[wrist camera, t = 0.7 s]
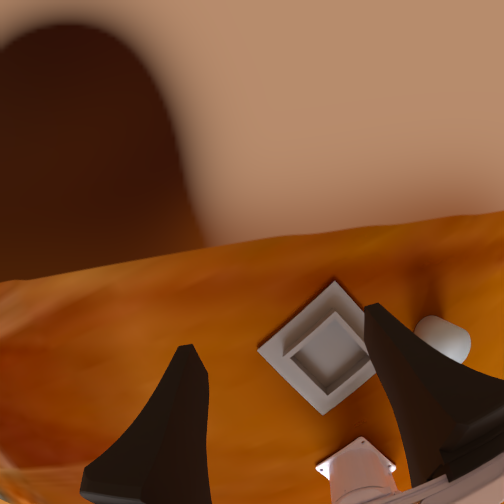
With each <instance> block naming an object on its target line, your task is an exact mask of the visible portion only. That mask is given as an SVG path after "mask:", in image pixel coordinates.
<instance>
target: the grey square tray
mask: <svg viewBox="0 0 504 504" xmlns="http://www.w3.org/2000/svg"><path fill="white" fill-rule="evenodd" d="M257 351H258V352H259V353H260V354H261V355H262V356H263V357H264V358H265V359H266V360H267V361H268V363H269V364H270V365H271V366H272V367H273V368H274V369H275V370H276V371H277V372H278V373H279V374H280V375H281V376H282V377H283V378H284V379H285V380H286V381H287V382H288V383H289V384H290V385H291V386H292V387H294V388H295V389H296V390H297V391H298V392H299V393H300V394H301V395H302V396H303V397H304V398H305V399H306V400H307V401H308V402H309V403H310V404H311V405H312V406H313V407H314V408H315V409H316V410H317V411H318V412H320V413H321V414H322V415H324V414H325V413H327V412H328V411H330V410H331V409H332V408H333V407H335V406H336V405H337V404H339V403H340V402H341V401H343V400H344V399H345V398H346V397H348V396H349V395H350V394H351V393H353V392H354V391H355V390H356V389H358V388H359V387H360V386H361V385H362V384H364V383H365V382H366V381H367V380H368V379H369V378H371V377H372V376H373V375H374V374H375V373H376V371H375V369H374V366H373V364H372V362H371V360H370V357H369V354H368V351H367V348H366V345H365V342H364V312H363V311H362V310H361V309H360V308H359V307H358V306H357V305H356V304H355V302H354V301H353V300H352V299H351V298H350V297H349V296H348V295H347V294H346V292H345V291H344V290H343V289H342V288H341V287H340V286H339V285H338V284H337V282H336V281H335V280H334V281H333V282H332V283H331V284H330V285H329V286H328V287H327V288H326V289H325V290H324V291H322V292H321V293H320V294H319V295H318V296H317V297H316V298H315V299H314V300H313V301H312V302H311V303H309V304H308V305H307V306H306V307H305V308H304V309H303V310H302V311H301V312H300V313H298V314H297V315H296V316H295V317H294V318H293V319H292V320H291V321H289V322H288V323H287V324H286V325H285V326H284V327H283V328H281V329H280V330H279V331H278V332H277V333H276V334H275V335H273V336H272V337H271V338H270V339H269V340H268V341H266V342H265V343H264V344H263V345H262V346H261V347H259V348H258V349H257Z"/></svg>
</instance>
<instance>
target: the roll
mask: <svg viewBox="0 0 504 504" xmlns="http://www.w3.org/2000/svg"><path fill="white" fill-rule="evenodd" d="M414 334H415V335H417V336H418V337H419V338H421V339H422V340H423V341H425V342H426V343H427V344H429V345H430V346H432V347H433V348H435V349H436V350H438V351H439V352H441V353H442V354H444V355H446V356H447V357H449V358H451V359H453V360H455V361H456V362H458V363H462V362H463V361H464V360H465V359H466V357H467V355H468V353H469V351H470V346H471V340H470V336H469V334H468V332H467V331H466V330H464V329H462V328H460V327H458V326H456V325H454V324H452V323H450V322H448V321H446V320H444V319H442V318H439V317H437V316H434V315H429V316H426V317H424V318H423V319H421V320H420V321H419V322H418V324H417V325H416V327H415V330H414Z"/></svg>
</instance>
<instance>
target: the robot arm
mask: <svg viewBox="0 0 504 504" xmlns="http://www.w3.org/2000/svg"><path fill="white" fill-rule="evenodd" d="M364 342H365V345H366V348H367V351H368V354H369V357H370V360H371V362H372V364H373V366H374V369H375V371H376V373H377V375H378V377H379V379H380V381H381V383H382V385H383V388H384V390H385V392H386V394H387V396H388V398H389V400H390V403H391V405H392V408H393V411H394V414H395V417H396V420H397V424H398V427H399V431H400V434H401V438H402V442H403V445H404V450H405V454H406V458H407V463H408V468H409V473H410V479H411V485H412V489H410V490H407V491H404V492H400V491H399V490H397V487H396V484H395V482H394V479H393V476H392V473H391V472H393V471H394V470H395V469H396V466H395V465H394V464H393V463H392V462H391V461H389V460H388V459H387V458H386V457H385V456H384V455H383V454H382V453H380V452H379V451H378V450H377V449H376V448H375V447H374V446H373V445H372V444H371V443H369V442H368V441H367V440H366V439H365V438H364V437H362V436H361V437H358V438H357V439H356V440H354V441H353V442H351V443H350V444H349V445H347V446H346V447H344V448H343V449H341V450H340V451H338V452H337V453H335V454H334V455H332V456H331V457H329V458H328V459H326V460H325V461H323V462H321V463H320V464H318V465H317V466H316V470H317V471H319V472H320V473H321V474H323V475H324V476H325V477H326V478H328V479H329V480H330V489H331V500H332V504H417V503H419V504H500V503H502V502H503V501H504V380H502V379H498V378H495V377H491V376H488V375H486V374H483V373H481V372H478V371H476V370H473V369H471V368H469V367H467V366H465V365H463V364H461V363H458V362H456V361H455V360H453V359H451V358H449V357H447V356H446V355H444V354H442V353H441V352H439V351H438V350H436V349H435V348H433V347H432V346H430V345H429V344H427V343H426V342H425V341H423V340H422V339H421V338H419V337H418V336H417V335H415V334H414V333H413V332H412V331H410V330H409V329H408V328H407V327H406V326H404V325H403V324H402V323H401V322H400V321H398V320H397V319H396V318H395V317H394V316H393V315H392V314H390V313H389V312H388V311H387V310H386V309H385V308H384V307H383V306H382V305H380V304H379V303H375V304H372V305H368V306H365V307H364ZM208 405H209V382H208V373H207V371H206V369H205V367H204V365H203V363H202V361H201V360H200V358H199V356H198V354H197V352H196V350H195V348H194V346H193V344H189V345H183V346H179V347H178V348H177V350H176V352H175V354H174V356H173V358H172V360H171V362H170V364H169V366H168V368H167V369H166V371H165V373H164V375H163V377H162V379H161V380H160V382H159V384H158V386H157V388H156V389H155V391H154V393H153V394H152V396H151V397H150V399H149V401H148V402H147V404H146V405H145V407H144V408H143V410H142V411H141V412H140V414H139V415H138V417H137V418H136V419H135V420H134V422H133V423H132V424H131V425H130V427H129V428H128V429H127V430H126V431H125V432H124V433H123V435H122V436H121V437H120V438H119V439H118V440H117V441H116V442H115V443H114V444H113V445H112V446H111V447H110V448H109V449H107V450H106V451H105V452H104V453H103V454H102V455H101V456H99V457H98V458H97V459H95V460H94V461H93V462H92V463H90V464H89V465H88V466H86V467H85V468H84V472H83V477H82V482H81V487H80V495H81V496H82V497H83V498H85V499H87V500H89V501H90V502H92V503H94V504H212V501H211V494H210V487H209V478H208V468H207V454H206V434H207V420H208ZM362 441H364V442H363V443H362ZM388 465H390V466H388ZM320 469H322V470H320Z"/></svg>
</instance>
